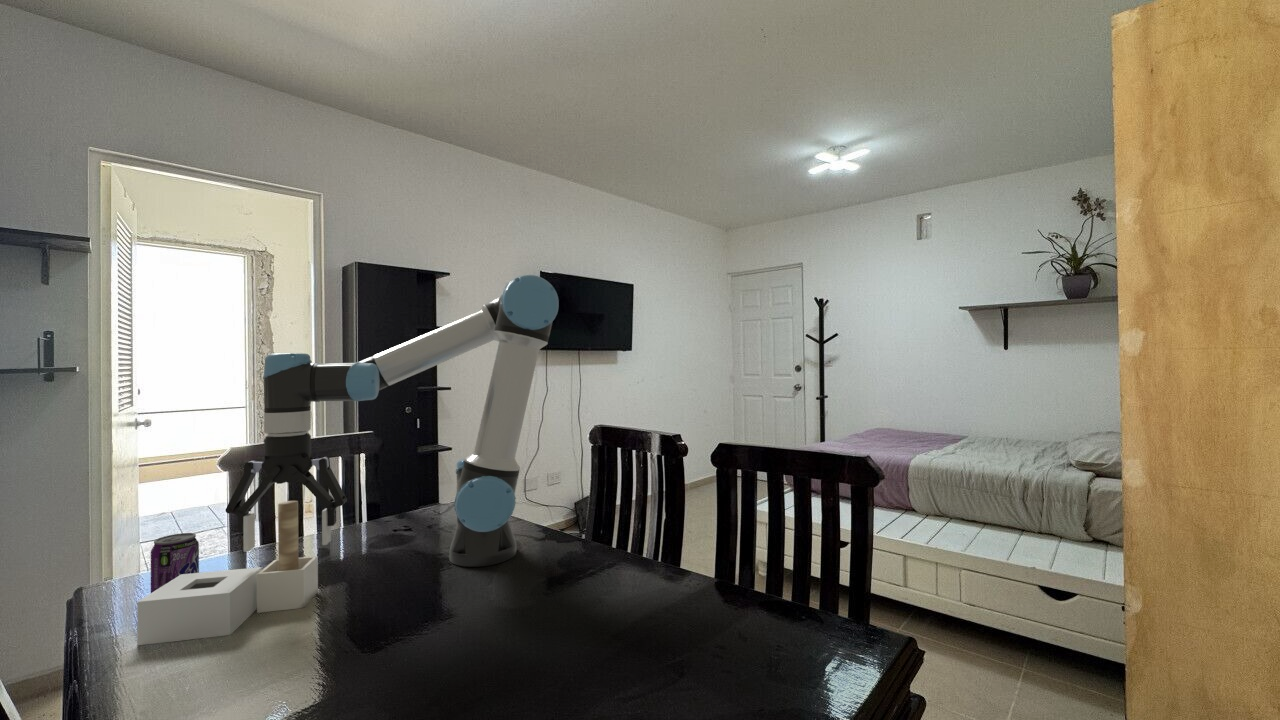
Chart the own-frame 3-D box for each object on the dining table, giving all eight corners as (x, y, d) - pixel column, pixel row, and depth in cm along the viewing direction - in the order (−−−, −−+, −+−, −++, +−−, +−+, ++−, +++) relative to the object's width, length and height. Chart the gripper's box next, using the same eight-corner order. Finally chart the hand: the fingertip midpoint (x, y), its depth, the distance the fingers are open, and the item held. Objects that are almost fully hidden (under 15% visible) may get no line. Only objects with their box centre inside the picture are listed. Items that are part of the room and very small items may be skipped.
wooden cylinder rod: (301, 593, 105) (300, 500, 105) (295, 599, 102) (294, 504, 102) (282, 594, 104) (282, 501, 104) (275, 601, 101) (275, 505, 101)
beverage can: (170, 609, 100) (170, 544, 100) (140, 606, 102) (140, 542, 102) (208, 593, 107) (208, 532, 107) (179, 591, 109) (179, 531, 109)
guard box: (262, 604, 102) (261, 567, 102) (230, 634, 90) (229, 592, 90) (181, 612, 99) (181, 574, 99) (137, 645, 87) (137, 601, 87)
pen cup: (317, 591, 107) (317, 556, 107) (303, 607, 100) (303, 569, 100) (274, 595, 106) (274, 559, 106) (257, 612, 98) (256, 574, 98)
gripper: (363, 428, 110) (364, 534, 109) (223, 434, 104) (224, 545, 104) (352, 433, 102) (353, 546, 102) (202, 439, 97) (202, 559, 96)
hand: (288, 546), depth 103 cm, fingers open, 12 cm apart
